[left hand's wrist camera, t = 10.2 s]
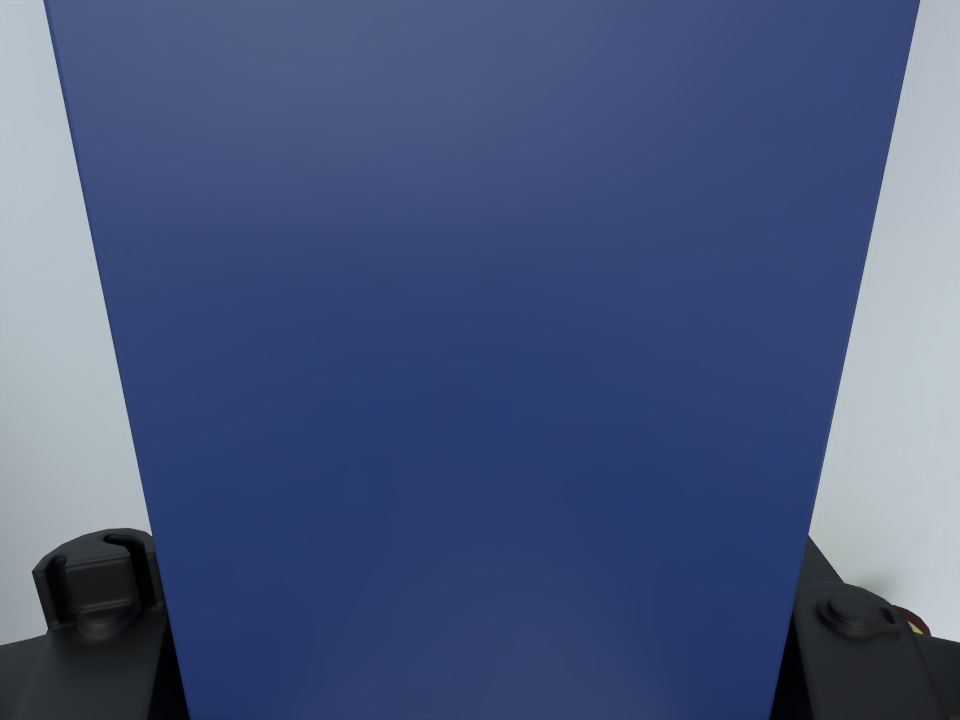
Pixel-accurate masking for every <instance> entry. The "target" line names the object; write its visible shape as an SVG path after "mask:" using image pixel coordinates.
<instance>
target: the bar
mask: <svg viewBox="0 0 960 720" xmlns="http://www.w3.org/2000/svg"><path fill="white" fill-rule="evenodd" d="M919 3H920V0H44V5H45V10H46V15H47V20H48V25H49V30H50V35H51V39H52V44H53V49H54V54H55V59H56V64H57V69H58V74H59V79H60V84H61V89H62V94H63V98H64V103H65V108H66V113H67V118H68V123H69V128H70V133H71V138H72V143H73V148H74V153H75V157H76V162H77V167H78V172H79V177H80V182H81V187H82V192H83V197H84V202H85V207H86V211H87V216H88V221H89V226H90V231H91V236H92V241H93V246H94V251H95V256H96V261H97V266H98V270H99V275H100V280H101V285H102V290H103V295H104V300H105V305H106V310H107V315H108V320H109V325H110V329H111V334H112V339H113V344H114V349H115V354H116V359H117V364H118V369H119V374H120V379H121V384H122V388H123V393H124V398H125V403H126V408H127V413H128V418H129V423H130V428H131V433H132V438H133V443H134V447H135V452H136V457H137V462H138V467H139V472H140V477H141V482H142V487H143V492H144V497H145V502H146V506H147V511H148V516H149V521H150V526H151V531H152V536H153V541H154V546H155V551H156V556H157V560H158V565H159V570H160V575H161V580H162V585H163V590H164V595H165V600H166V605H167V610H168V615H169V619H170V624H171V629H172V634H173V639H174V644H175V649H176V654H177V659H178V664H179V669H180V674H181V678H182V683H183V688H184V693H185V698H186V703H187V708H188V713H189V718H190V720H769V719H770V714H771V710H772V705H773V700H774V695H775V690H776V686H777V681H778V676H779V671H780V667H781V662H782V657H783V652H784V647H785V643H786V638H787V633H788V628H789V624H790V619H791V614H792V609H793V605H794V600H795V595H796V590H797V585H798V581H799V576H800V571H801V566H802V562H803V557H804V552H805V547H806V543H807V538H808V533H809V528H810V523H811V519H812V514H813V509H814V504H815V500H816V495H817V490H818V485H819V480H820V476H821V471H822V466H823V461H824V457H825V452H826V447H827V442H828V438H829V433H830V428H831V423H832V418H833V414H834V409H835V404H836V399H837V395H838V390H839V385H840V380H841V375H842V371H843V366H844V361H845V356H846V352H847V347H848V342H849V337H850V333H851V328H852V323H853V318H854V313H855V309H856V304H857V299H858V294H859V290H860V285H861V280H862V275H863V271H864V266H865V261H866V256H867V251H868V247H869V242H870V237H871V232H872V228H873V223H874V218H875V213H876V208H877V204H878V199H879V194H880V189H881V185H882V180H883V175H884V170H885V166H886V161H887V156H888V151H889V146H890V142H891V137H892V132H893V127H894V123H895V118H896V113H897V108H898V103H899V99H900V94H901V89H902V84H903V80H904V75H905V70H906V65H907V61H908V56H909V51H910V46H911V41H912V37H913V32H914V27H915V22H916V18H917V13H918V8H919Z"/></svg>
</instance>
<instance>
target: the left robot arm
mask: <svg viewBox="0 0 960 720" xmlns="http://www.w3.org/2000/svg"><path fill="white" fill-rule="evenodd" d="M32 574H33V578H34V581H35V585H36V588H37V592H38V595H39V599H40V602H41V605H42V609H43V612H44V616H45V619H46V623H47V626H48V630H47V633H46V635H42V636H39V637H35V638H32V639H28V640H23V641H19V642H14V643H10V644H5V645H0V720H190V718H189V713H188V708H187V703H186V698H185V693H184V688H183V683H182V678H181V674H180V669H179V664H178V659H177V654H176V649H175V644H174V639H173V634H172V629H171V624H170V619H169V615H168V610H167V605H166V600H165V595H164V590H163V585H162V580H161V575H160V570H159V565H158V560H157V556H156V551H155V546H154V541H153V536H150V535H149V534H148V533H147V532H145V531H140V530H136V529H131V528H119V529H106V530H102V531H98V532H94V533H89V534H85V535H83V536H80V537H78V538H76V539H73V540H71V541H69V542H66V543H64V544H62V545H60V546H59V547H57V548H56V549H55V550H53V551H52V552H50V553H49V554H47V555H46V556H44V557H43V558H42V559H41V561H40V562H39V563H38V564H37V566H36V567H35V568H34V569H33V570H32ZM769 720H960V643H959V642H955V641H950V640H945V639H941V638H936V637H932V636H928V635H924V634H921V633H917V632H914V631H913V629H912V627H911V626H910V624H909V623H908V621H907V620H906V618H905V617H904V616H903V614H902V613H901V612H900V611H899V610H898V609H896V608H895V607H894V606H892V605H891V604H890V603H889V602H887V601H886V600H885V599H883V598H881V597H879V596H877V595H875V594H873V593H871V592H869V591H867V590H865V589H863V588H860V587H856V586H853V585H849V584H846V583H844V582H843V581H842V579H841V578H840V577H839V575H838V574H837V573H836V571H835V570H834V569H833V567H832V566H831V565H830V563H829V562H828V561H827V559H826V558H825V557H824V555H823V554H822V553H821V551H820V550H819V549H818V547H817V546H816V545H815V543H814V542H813V541H812V539H811V538H810V537H809V535H808V538H807V543H806V547H805V552H804V557H803V562H802V566H801V571H800V576H799V581H798V585H797V590H796V595H795V600H794V605H793V609H792V614H791V619H790V624H789V628H788V633H787V638H786V643H785V647H784V652H783V657H782V662H781V667H780V671H779V676H778V681H777V686H776V690H775V695H774V700H773V705H772V710H771V714H770V719H769Z"/></svg>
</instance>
